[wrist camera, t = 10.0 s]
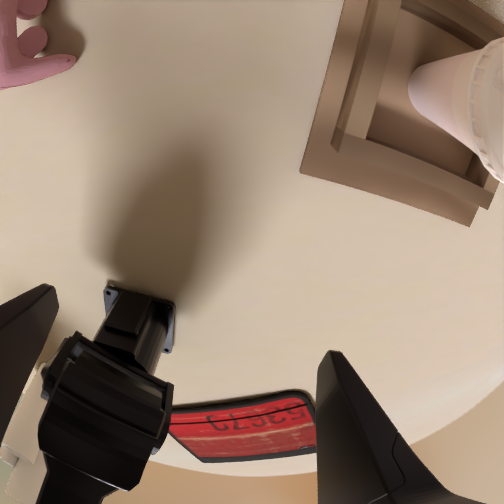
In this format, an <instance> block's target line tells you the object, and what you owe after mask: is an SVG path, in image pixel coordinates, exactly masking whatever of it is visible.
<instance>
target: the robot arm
mask: <svg viewBox="0 0 504 504" xmlns="http://www.w3.org/2000/svg"><path fill="white" fill-rule="evenodd" d="M103 292H104V302H105V310H106V317H105V319H104V321H103V322H102V324H101V326H100V328H99V330H98V331H97V333H96V335H95V337H94V339H93V341H90V340H89V339H87V338H86V337H84V336H82V334H81V333H80V332H78V331H76V332H75V333H74V335H73V336H72V337H71V336H70V337H69V338H65V339H64V341H63V342H62V344H61V345H60V347H59V349H58V350H57V352H56V353H55V354H54V356H53V357H52V358H51V359H50V360H49V361H48V362H47V363H46V365H45V366H44V367H43V368H42V370H41V373H40V374H41V377H42V380H43V384H42V388H43V389H42V392H41V395H40V397H41V398H42V399H44V400H45V401H47V404H46V406H45V409H44V411H43V414H42V416H41V418H40V421H39V424H38V433H37V437H38V445H39V449H40V450H41V451H42V452H43V457H44V461H45V465H46V469H47V472H46V475H45V477H44V480H43V483H42V486H41V489H40V492H39V494H38V497H37V500H36V503H35V504H101V503H102V501H103V499H104V497H106V496H108V495H109V494H112V493H113V492H115V491H117V490H118V489H121V490H124V491H127V492H128V491H130V490H131V489H133V488H134V487H135V486H136V485H137V484H139V482H140V479H141V477H142V474H143V471H144V468H145V465H146V463H147V461H148V459H149V457H150V454H152V455H154V454H156V453H157V452H158V451H159V449H160V448H161V446H162V445H163V443H164V441H165V439H166V436H167V434H168V431H169V427H170V423H171V413H172V402H173V391H174V385H173V384H171V383H169V382H165V381H163V380H161V379H159V378H157V377H155V376H154V373H155V370H156V367H157V364H158V361H159V358H160V355H161V352H163V353H167V354H169V353H171V351H172V346H173V330H174V316H175V305H174V303H172V302H170V301H167V300H162V299H158V298H154V297H150V296H146V295H142V294H138V293H135V292H131V291H127V290H123V289H119V288H116V287H112V286H106V287H105V289H104V291H103ZM167 306H168V307H170V308H168V307H167ZM58 309H59V303H58V299H57V294H56V289H55V288H54V286H52V285H49V284H41V285H39V286H37V287H35V288H33V289H31V290H29V291H27V292H25V293H23V294H21V295H19V296H17V297H15V298H13V299H12V300H10V301H8V302H6V303H4V304H2V305H0V447H1V443H2V441H3V438H4V435H5V433H6V430H7V428H8V425H9V422H10V420H11V417H12V415H13V412H14V410H15V407H16V405H17V403H18V400H19V398H20V396H21V393H22V391H23V389H24V387H25V385H26V382H27V380H28V378H29V376H30V374H31V372H32V369H33V367H34V365H35V363H36V361H37V359H38V357H39V355H40V353H41V351H42V349H43V347H44V344H45V342H46V340H47V337H48V334H49V332H50V329H51V327H52V325H53V322H54V320H55V317H56V315H57V313H58ZM315 425H316V448H317V480H318V504H485V503H482V502H478V501H474V500H471V499H468V498H465V497H462V496H458V495H456V494H454V493H452V492H450V491H449V490H447V489H446V488H445V487H444V486H443V485H442V484H441V483H440V482H439V481H438V480H437V479H436V478H435V476H434V475H433V474H432V473H431V472H430V471H429V470H428V468H427V467H426V466H425V465H424V464H423V463H422V462H421V461H420V459H419V458H418V457H417V455H416V454H415V453H414V452H413V451H412V449H411V448H410V447H409V445H408V444H407V443H406V441H405V440H404V438H403V437H402V436H401V434H400V433H399V432H398V430H397V429H396V427H395V426H394V424H393V423H392V422H391V420H390V419H389V417H388V416H387V415H386V413H385V412H384V410H383V409H382V408H381V406H380V405H379V403H378V402H377V401H376V399H375V398H374V396H373V395H372V394H371V392H370V391H369V389H368V388H367V387H366V385H365V384H364V382H363V381H362V380H361V378H360V377H359V376H358V374H357V373H356V371H355V370H354V369H353V367H352V366H351V364H350V363H349V362H348V360H347V359H346V358H345V356H344V355H343V353H342V352H340V351H334V350H329V351H327V353H326V355H325V356H324V358H323V360H322V361H321V363H320V365H319V367H318V372H317V389H316V404H315Z"/></svg>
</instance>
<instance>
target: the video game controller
mask: <svg viewBox="0 0 504 504" xmlns="http://www.w3.org/2000/svg"><path fill="white" fill-rule="evenodd" d="M46 5H47V0H0V90H4V89H7V88H9V87H16V86H21V85H26V84H30V83H33V82H36V81H39V80H42V79H45V78H47V77H50V76H53V75H56V74H58V73H61V72H63V71H66V70H68V69H70V68H71V67H72V66H73V65H74V64H75V63H76V57H75V56H73V55H69V54H56V55H50V56H45V57H40V58H33V57H34V56H35V55H36V54H38V53H39V52H40V51H41V50H42V49H43V48H44V47H45V46H46V44H47V40H48V38H47V33H46V31H45V30H44V29H43V28H42V27H39V26H33V27H30V28H28V29H27V30H25V31H24V32H23V33H22V34H21V35H20V36H19V37H18V38H17V25H16V17H18V18H20V19H23V20H30V19H33V18H35V17H37V16H38V15H39V14H40V13H41V12H43V10H44V9H45V8H46Z"/></svg>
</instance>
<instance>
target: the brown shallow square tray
mask: <svg viewBox="0 0 504 504" xmlns="http://www.w3.org/2000/svg"><path fill="white" fill-rule="evenodd" d="M502 37H504V26H503V25H502V24H501V23H499V22H498V21H497V20H495V19H494V18H493V17H491V16H490V15H489V14H487V13H486V12H484V11H483V10H481V9H480V8H479V7H477V6H476V5H474V4H473V3H471V2H470V1H468V0H344V4H343V8H342V12H341V16H340V20H339V24H338V28H337V32H336V36H335V40H334V44H333V48H332V52H331V56H330V60H329V64H328V68H327V71H326V75H325V79H324V83H323V87H322V90H321V94H320V98H319V102H318V105H317V109H316V113H315V116H314V120H313V124H312V127H311V131H310V135H309V138H308V142H307V146H306V149H305V153H304V156H303V160H302V163H301V167H300V173H301V174H305V175H309V176H313V177H317V178H320V179H324V180H328V181H331V182H335V183H339V184H342V185H346V186H349V187H353V188H356V189H359V190H363V191H366V192H369V193H373V194H376V195H379V196H382V197H385V198H389V199H392V200H395V201H398V202H401V203H404V204H407V205H410V206H413V207H416V208H419V209H422V210H425V211H427V212H430V213H433V214H436V215H439V216H441V217H444V218H447V219H449V220H452V221H455V222H457V223H460V224H463V225H465V226H468V227H470V225H471V223H472V221H473V219H474V216H475V214H476V212H477V210H478V207H479V206H480V207H483V208H485V209H487V210H488V208H489V206H490V204H491V201H492V199H493V197H494V194H495V192H496V189H497V187H498V184H499V182H500V181H499V180H497V179H495V178H494V177H493V176H492V175H491V173H490V172H489V171H488V170H487V169H486V168H485V167H484V165H483V164H482V162H481V160H480V158H479V156H478V155H477V154H476V153H474V152H473V151H472V150H471V149H470V148H468V147H467V146H466V145H464V144H463V143H462V142H460V141H459V140H458V139H456V138H455V137H454V136H452V135H451V134H449V133H448V132H447V131H445V130H444V129H442V128H441V127H439V126H438V125H436V124H435V123H433V122H432V121H430V120H429V119H427V118H426V117H424V116H423V115H421V114H420V113H419V112H418V111H417V110H416V109H415V108H414V106H413V105H412V103H411V100H410V97H409V93H408V83H409V79H410V76H411V74H412V73H413V71H414V70H415V69H416V68H418V67H419V66H421V65H424V64H428V63H431V62H435V61H438V60H442V59H445V58H449V57H453V56H456V55H460V54H464V53H468V52H472V51H476V50H479V49H483V48H484V47H485V46H486V45H487V44H488V43H490V42H491V41H493V40H496V39H499V38H502Z"/></svg>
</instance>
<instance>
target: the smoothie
mask: <svg viewBox="0 0 504 504" xmlns="http://www.w3.org/2000/svg"><path fill="white" fill-rule="evenodd" d="M408 93H409V97H410V100H411V103H412V105H413V106H414V108H415V109H416V110H417V111H418V112H419V113H420V114H421V115H423V116H424V117H426V118H427V119H429V120H430V121H432V122H433V123H435V124H436V125H438V126H439V127H441V128H442V129H444V130H445V131H447V132H448V133H449V134H451V135H452V136H454V137H455V138H456V139H458V140H459V141H460V142H462V143H463V144H464V145H466V146H467V147H468V148H470V149H471V150H472V151H473V152H474V153H476V154H477V155H478V156H479V158H480V160H481V162H482V164H483V165H484V167H485V168H486V169H487V170H488V171H489V172H490V173H491V175H492V176H493V177H494V178H495V179H497V180H499V181H501V182H502V183H504V37H502V38H499V39H496V40H493V41H491V42H490V43H488V44H487V45H486V46H485V47H484V48H483V49H479V50H476V51H472V52H468V53H464V54H460V55H456V56H453V57H449V58H445V59H442V60H438V61H435V62H431V63H428V64H424V65H421V66H419V67H418V68H416V69H415V70H414V71H413V73H412V74H411V76H410V79H409V83H408Z"/></svg>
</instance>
